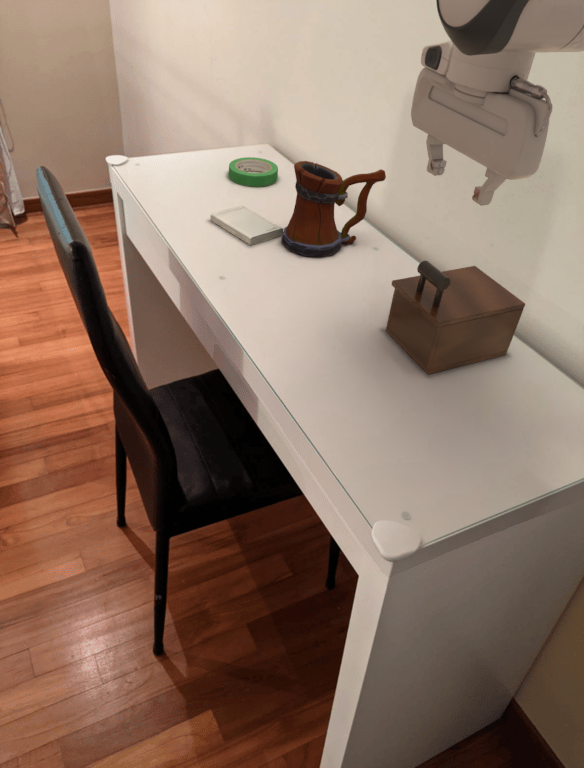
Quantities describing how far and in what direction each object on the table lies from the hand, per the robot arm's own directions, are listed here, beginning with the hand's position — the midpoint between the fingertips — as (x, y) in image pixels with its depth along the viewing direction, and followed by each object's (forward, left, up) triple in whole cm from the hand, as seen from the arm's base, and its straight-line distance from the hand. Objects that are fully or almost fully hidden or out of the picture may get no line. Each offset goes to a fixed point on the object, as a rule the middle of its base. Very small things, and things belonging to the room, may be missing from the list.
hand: (456, 187), depth 76 cm
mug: (+24, -25, -25) cm, 43 cm away
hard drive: (+40, -22, -25) cm, 52 cm away
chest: (-4, -4, -25) cm, 26 cm away
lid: (-4, -4, -17) cm, 18 cm away
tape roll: (+51, -46, -25) cm, 73 cm away
